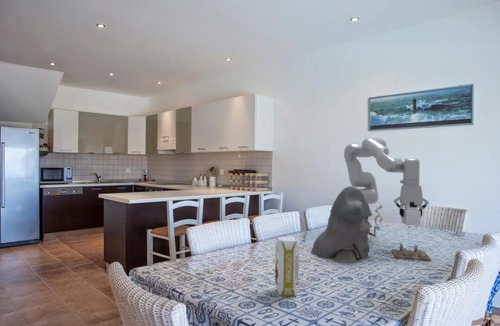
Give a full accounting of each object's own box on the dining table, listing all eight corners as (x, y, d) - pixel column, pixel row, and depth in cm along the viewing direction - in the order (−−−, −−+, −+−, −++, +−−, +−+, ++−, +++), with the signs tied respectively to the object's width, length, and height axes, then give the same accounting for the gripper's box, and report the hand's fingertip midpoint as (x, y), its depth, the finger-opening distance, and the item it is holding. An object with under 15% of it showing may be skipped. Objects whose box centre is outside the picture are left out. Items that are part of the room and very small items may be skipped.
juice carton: (294, 288, 124) (295, 236, 124) (299, 297, 116) (299, 241, 116) (274, 288, 124) (275, 236, 124) (277, 297, 115) (277, 241, 116)
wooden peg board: (395, 258, 168) (395, 249, 168) (391, 250, 183) (391, 242, 183) (431, 261, 163) (431, 252, 163) (424, 253, 179) (424, 244, 179)
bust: (386, 266, 154) (387, 189, 155) (310, 261, 161) (311, 187, 161) (373, 248, 187) (374, 185, 188) (311, 245, 194) (312, 184, 194)
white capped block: (415, 222, 177) (415, 199, 177) (420, 225, 170) (421, 201, 170) (401, 222, 178) (401, 199, 178) (406, 224, 170) (406, 200, 171)
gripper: (393, 182, 173) (393, 217, 173) (431, 183, 168) (431, 219, 168) (391, 182, 180) (391, 215, 180) (428, 183, 175) (427, 217, 175)
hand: (410, 216), depth 174 cm, fingers closed on white capped block, 7 cm apart
